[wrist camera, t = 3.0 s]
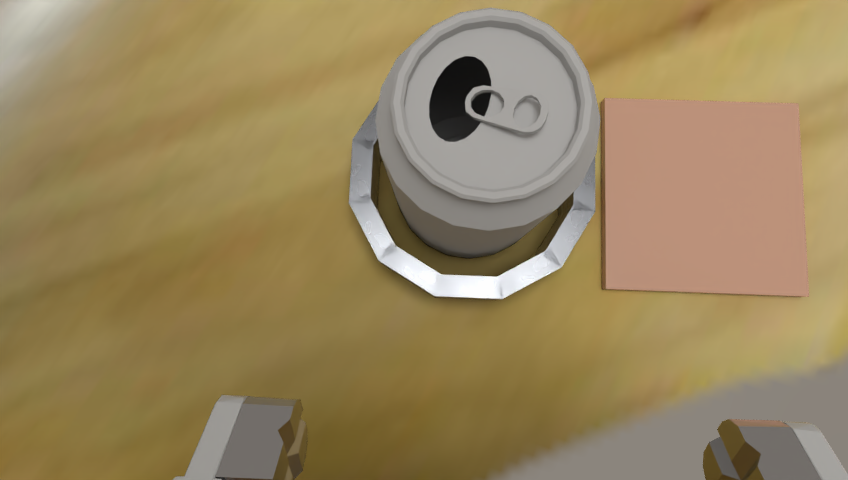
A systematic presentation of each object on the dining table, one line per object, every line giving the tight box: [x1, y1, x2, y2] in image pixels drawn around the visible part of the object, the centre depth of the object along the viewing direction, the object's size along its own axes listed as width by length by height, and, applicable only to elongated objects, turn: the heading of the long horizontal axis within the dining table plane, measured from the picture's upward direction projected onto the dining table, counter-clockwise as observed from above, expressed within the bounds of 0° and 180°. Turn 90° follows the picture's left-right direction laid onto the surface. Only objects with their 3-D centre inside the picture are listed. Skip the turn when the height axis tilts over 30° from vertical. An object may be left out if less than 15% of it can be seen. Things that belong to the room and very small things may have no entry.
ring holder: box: [349, 101, 595, 300], centre depth 26 cm, size 12×12×3 cm
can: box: [375, 8, 600, 258], centre depth 22 cm, size 8×8×12 cm
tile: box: [601, 98, 809, 297], centre depth 27 cm, size 10×10×1 cm
